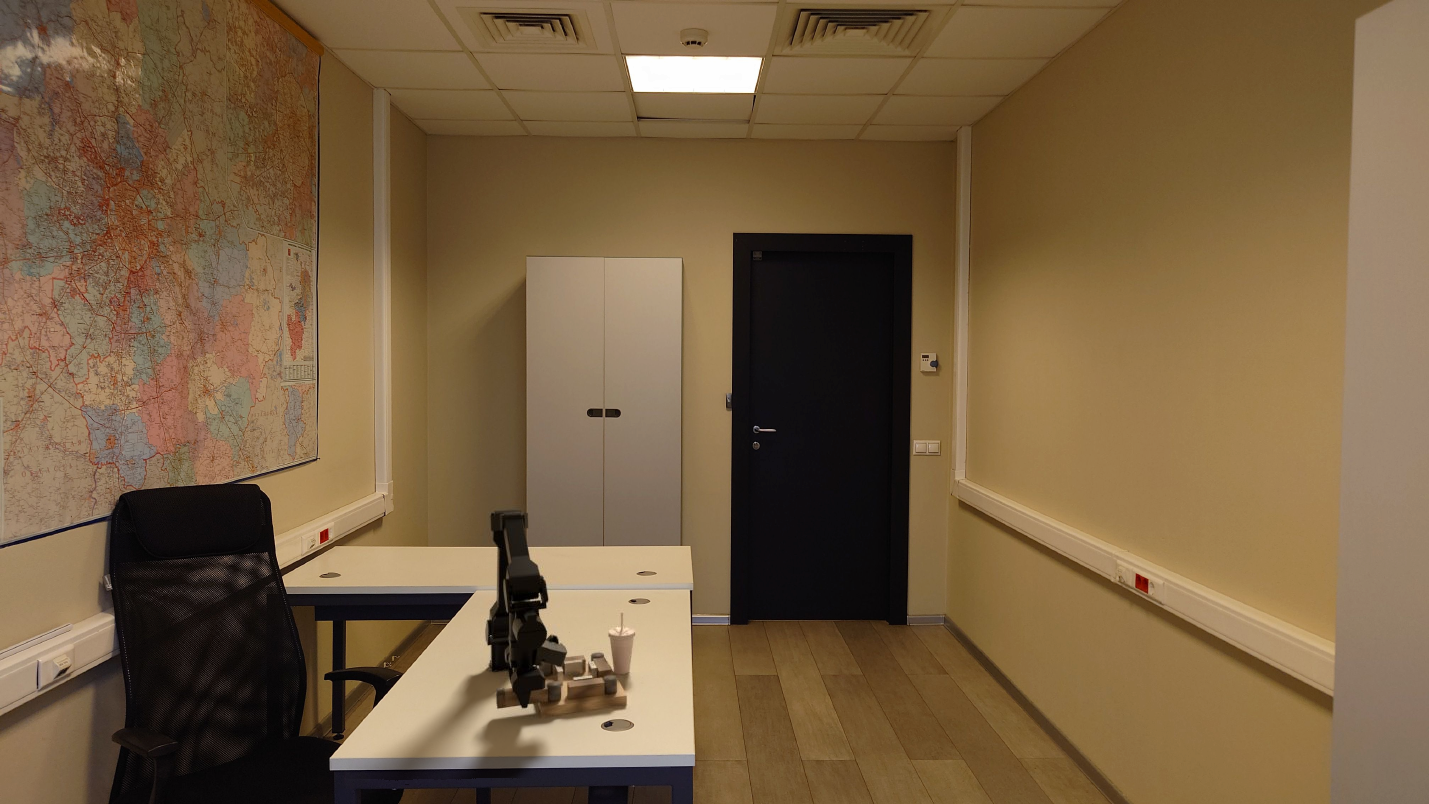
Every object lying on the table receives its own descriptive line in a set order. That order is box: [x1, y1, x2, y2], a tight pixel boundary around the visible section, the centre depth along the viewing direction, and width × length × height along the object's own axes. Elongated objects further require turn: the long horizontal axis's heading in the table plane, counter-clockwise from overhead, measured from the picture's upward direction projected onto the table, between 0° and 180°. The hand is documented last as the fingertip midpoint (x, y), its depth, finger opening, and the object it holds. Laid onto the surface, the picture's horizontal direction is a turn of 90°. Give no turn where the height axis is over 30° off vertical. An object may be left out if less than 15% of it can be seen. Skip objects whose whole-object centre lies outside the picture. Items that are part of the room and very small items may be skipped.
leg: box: [495, 681, 561, 710], centre depth 164 cm, size 13×3×3 cm, turn 109°
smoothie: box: [607, 611, 636, 675], centre depth 186 cm, size 6×6×14 cm
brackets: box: [555, 660, 597, 685], centre depth 175 cm, size 9×11×3 cm
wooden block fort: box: [537, 651, 628, 718], centre depth 175 cm, size 18×20×5 cm
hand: (524, 707), depth 160 cm, fingers closed
